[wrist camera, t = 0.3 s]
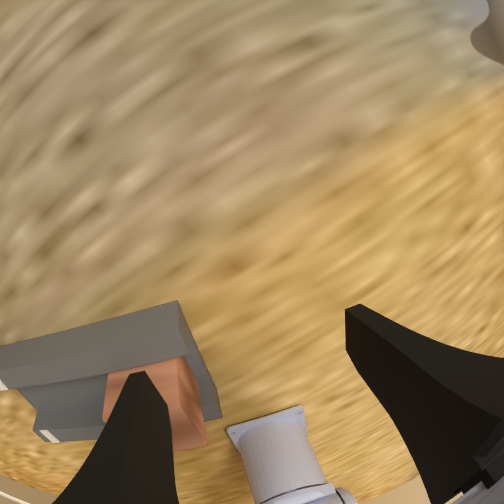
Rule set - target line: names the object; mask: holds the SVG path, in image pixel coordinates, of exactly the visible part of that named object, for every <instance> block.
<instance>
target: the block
mask: <svg viewBox="0 0 504 504" xmlns="http://www.w3.org/2000/svg"><path fill="white" fill-rule="evenodd" d="M144 370H145V371H146V373H147V375H148V376H149V378H150V379H151V381H152V382H153V384H154V385H155V387H156V389H157V390H158V392H159V393H160V394H161V396H162V397H163V399H164V400H165V402H166V403H167V405H168V410H169V416H170V422H171V428H172V443H173V452H177V451H183V450H188V449H193V448H198V447H203V446H208V442H207V437H206V431H205V425H204V419H203V413H202V406H201V400H200V393H199V386H198V382H197V380H196V378H195V376H194V374H193V372H192V370H191V368H190V366H189V364H188V362H187V360H186V358H185V356H184V355H183V356H179V357H175V358H172V359H168V360H163V361H159V362H155V363H151V364H147V365H142V366H138V367H134V368H129V369H124V370H120V371H115V372H110V373H108V379H107V386H106V393H105V400H104V408H103V416H102V420H103V421H104V422H105V423H106V422H107V420H108V418H109V416H110V414H111V412H112V410H113V408H114V405H115V403H116V401H117V399H118V397H119V395H120V392H121V390H122V388H123V386H124V384H125V382H126V380H127V378H128V376H129V374H131V373H135V372H140V371H144Z"/></svg>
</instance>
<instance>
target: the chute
mask: <svg viewBox="0 0 504 504" xmlns="http://www.w3.org/2000/svg"><path fill="white" fill-rule="evenodd" d="M183 355H184V356H185V358H186V360H187V362H188V364H189V366H190V368H191V370H192V372H193V374H194V376H195V378H196V380H197V382H198V386H199V393H200V400H201V406H202V413H203V419H204V422H206V421H210V420H214V419H218V418H222V417H223V416H222V412H221V407H220V402H219V398H218V393H217V388H216V386H215V384H214V382H213V380H212V378H211V376H210V373H209V371H208V369H207V367H206V365H205V363H204V361H203V358H202V356H201V354H200V352H199V350H198V347H197V345H196V343H195V341H194V338H193V336H192V334H191V331H190V329H189V327H188V324H187V322H186V320H185V317H184V315H183V312H182V310H181V308H180V305H179V303H178V300H177V301H173V302H170V303H166V304H162V305H159V306H155V307H152V308H148V309H144V310H141V311H137V312H134V313H130V314H126V315H123V316H119V317H115V318H111V319H108V320H104V321H100V322H96V323H93V324H89V325H85V326H81V327H77V328H73V329H70V330H66V331H62V332H58V333H54V334H50V335H46V336H42V337H38V338H34V339H30V340H26V341H22V342H17V343H13V344H9V345H5V346H1V347H0V390H8V389H11V388H17V389H18V390H19V392H20V393H21V394H22V395H23V396H24V397H25V398H26V400H27V401H28V402H29V403H30V404H31V405H32V406H33V407H34V408H35V409H36V410H37V411H38V412H37V415H36V419H35V423H34V427H33V431H34V432H35V433H36V434H37V435H38V436H39V437H40V438H41V439H43V440H44V441H45V442H52V443H57V442H63V441H81V440H94V439H98V438H99V436H100V434H101V432H102V430H103V428H104V426H105V424H106V423H105V422H104V421H103V420H102V416H103V408H104V400H105V393H106V386H107V379H108V373H110V372H115V371H120V370H124V369H129V368H134V367H138V366H142V365H147V364H151V363H155V362H159V361H163V360H168V359H172V358H175V357H179V356H183Z"/></svg>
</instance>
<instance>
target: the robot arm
mask: <svg viewBox="0 0 504 504" xmlns="http://www.w3.org/2000/svg"><path fill="white" fill-rule="evenodd" d="M345 331H346V351H347V353H348V355H349V357H350V358H351V360H352V362H353V364H354V366H355V368H356V369H357V371H358V373H359V374H360V375H361V377H362V378H363V380H364V381H365V382H366V384H367V385H368V386H369V388H370V389H371V391H372V392H373V393H374V395H375V396H376V397H377V399H378V400H379V401H380V403H381V404H382V406H383V407H384V408H385V410H386V411H387V412H388V414H389V415H390V417H391V419H392V420H393V422H394V423H395V425H396V427H397V429H398V431H399V432H400V434H401V436H402V438H403V440H404V442H405V444H406V446H407V448H408V450H409V452H410V454H411V456H412V458H413V460H414V462H415V465H416V467H417V469H418V471H419V473H420V476H421V478H422V481H423V483H424V486H425V488H426V491H427V494H428V497H429V499H430V502H431V504H445V503H446V502H447V501H449V500H450V499H452V498H453V497H454V496H456V495H457V494H459V493H460V492H461V491H462V492H463V494H464V495H463V496H461V497H460V498H459V499H457V500H456V501H454V502H453V503H452V504H504V358H499V357H493V356H487V355H482V354H478V353H473V352H469V351H465V350H462V349H459V348H455V347H452V346H449V345H446V344H443V343H441V342H438V341H435V340H433V339H430V338H428V337H426V336H423V335H421V334H419V333H417V332H414V331H412V330H410V329H408V328H406V327H404V326H402V325H400V324H398V323H396V322H394V321H392V320H390V319H388V318H386V317H384V316H382V315H381V314H379V313H377V312H375V311H373V310H371V309H369V308H367V307H366V306H364V305H362V304H358V305H355V306H352V307H350V308H347V309H345ZM226 431H227V433H228V435H229V437H230V438H231V440H232V442H233V443H234V445H235V447H236V448H237V450H238V451H239V453H240V455H241V456H242V460H243V463H244V467H245V471H246V474H247V478H248V481H249V485H250V488H251V492H252V495H253V499H254V502H255V504H358V503H357V501H356V500H355V498H354V496H353V495H352V493H351V492H350V491H349V490H347V489H343V488H342V487H338V488H336V489H335V488H334V486H333V484H332V482H330V483H328V482H327V480H326V477H325V475H324V473H323V471H322V469H321V466H320V464H319V462H318V460H317V457H316V455H315V453H314V451H313V448H312V446H311V444H310V442H309V439H308V436H307V429H306V422H305V416H304V409H303V407H302V406H301V405H298V406H295V407H292V408H289V409H286V410H283V411H280V412H277V413H274V414H271V415H268V416H264V417H261V418H258V419H254V420H251V421H248V422H244V423H240V424H237V425H233V426H229V427H227V429H226ZM52 504H179V501H178V497H177V492H176V485H175V475H174V460H173V443H172V428H171V422H170V416H169V410H168V405H167V403H166V402H165V400H164V399H163V397H162V396H161V394H160V393H159V392H158V390H157V389H156V387H155V385H154V384H153V382H152V381H151V379H150V378H149V376H148V375H147V373H146V371H145V370H144V371H140V372H135V373H131V374H129V376H128V378H127V380H126V382H125V384H124V386H123V388H122V390H121V392H120V395H119V397H118V399H117V401H116V403H115V405H114V408H113V410H112V412H111V414H110V416H109V418H108V420H107V422H106V424H105V426H104V428H103V430H102V432H101V434H100V436H99V438H98V440H97V442H96V444H95V446H94V447H93V449H92V451H91V453H90V454H89V456H88V457H87V459H86V461H85V462H84V464H83V465H82V467H81V468H80V470H79V471H78V473H77V474H76V475H75V477H74V478H73V479H72V480H71V482H70V483H69V484H68V486H67V487H66V488H65V490H64V491H63V492H62V493H61V494H60V495H59V497H58V498H57V499H56V500H55V501H54V502H53V503H52Z"/></svg>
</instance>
